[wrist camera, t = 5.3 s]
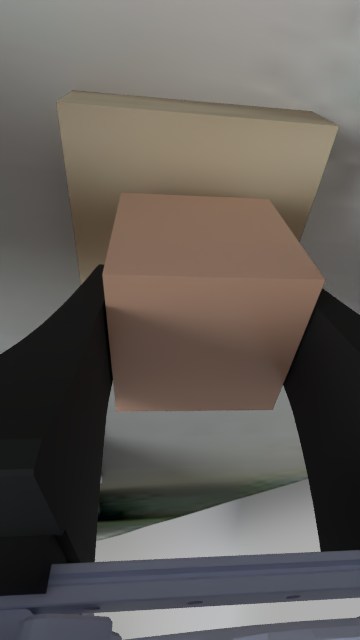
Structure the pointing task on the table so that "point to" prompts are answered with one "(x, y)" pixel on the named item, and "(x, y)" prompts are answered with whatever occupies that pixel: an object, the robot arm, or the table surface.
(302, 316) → the terracotta cube
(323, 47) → the table surface
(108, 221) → the oak block
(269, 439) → the table surface
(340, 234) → the table surface
